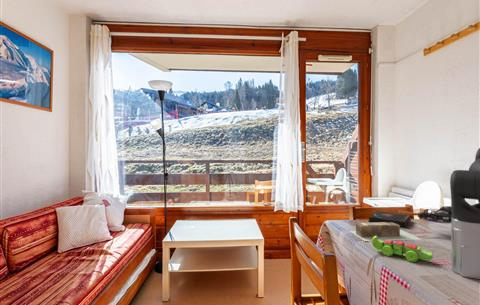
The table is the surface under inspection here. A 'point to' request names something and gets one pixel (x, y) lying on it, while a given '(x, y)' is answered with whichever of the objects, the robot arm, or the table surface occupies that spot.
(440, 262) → the table surface
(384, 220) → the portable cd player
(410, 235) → the sage mat
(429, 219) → the kendama
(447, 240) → the table surface
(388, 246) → the toy crocodile
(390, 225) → the walnut block
